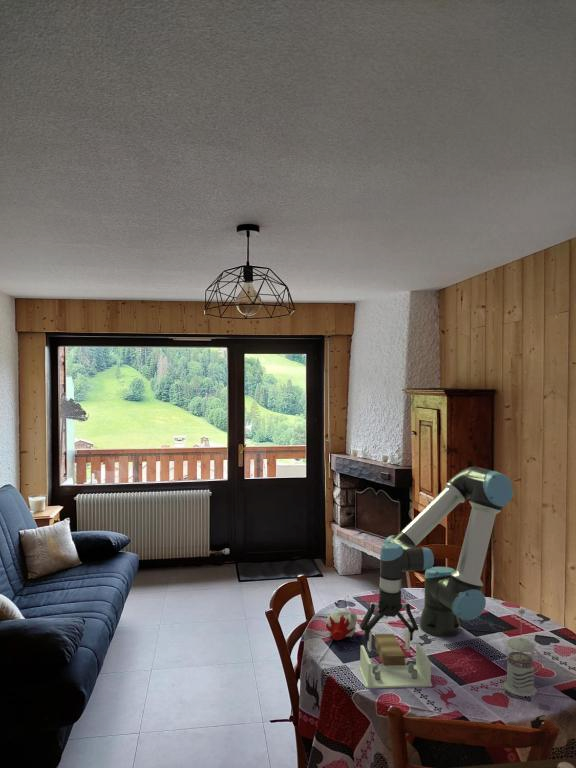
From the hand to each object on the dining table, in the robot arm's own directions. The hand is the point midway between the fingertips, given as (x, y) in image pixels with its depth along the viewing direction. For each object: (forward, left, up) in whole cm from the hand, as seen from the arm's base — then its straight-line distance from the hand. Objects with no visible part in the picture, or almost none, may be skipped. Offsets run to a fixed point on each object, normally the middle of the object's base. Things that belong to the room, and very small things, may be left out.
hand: (388, 649), depth 193 cm
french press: (-37, +22, -2) cm, 43 cm away
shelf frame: (+2, +14, -2) cm, 14 cm away
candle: (+15, -14, -2) cm, 20 cm away
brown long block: (0, 0, -2) cm, 2 cm away
